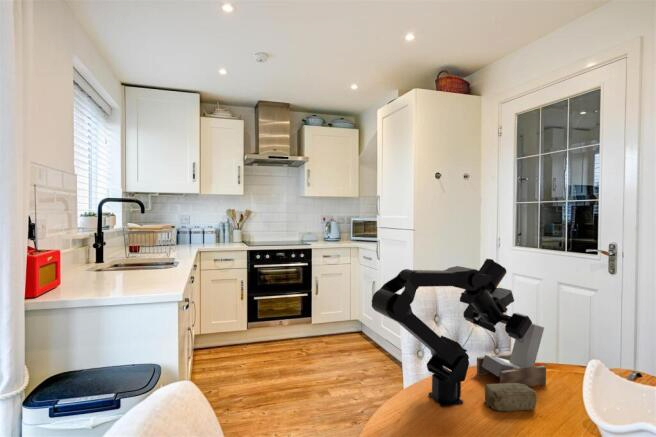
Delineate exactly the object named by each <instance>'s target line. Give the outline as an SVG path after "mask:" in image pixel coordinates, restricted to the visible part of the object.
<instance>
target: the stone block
mask: <svg viewBox="0 0 656 437" xmlns="http://www.w3.org/2000/svg"><path fill="white" fill-rule="evenodd" d="M484 401H485V403H486V405H487V406H488V407H490V408H491V409H492V410H493V411H497V412H498V411H499V412H516V411H517V412H518V411H531V410H534V409H535V408H536V404H537V393H536V391H535V390H534V389H532V388H531V387H528V386H527V385H525V384H520V383H502V384H500V383H487V384H485V387H484Z"/></svg>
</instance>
